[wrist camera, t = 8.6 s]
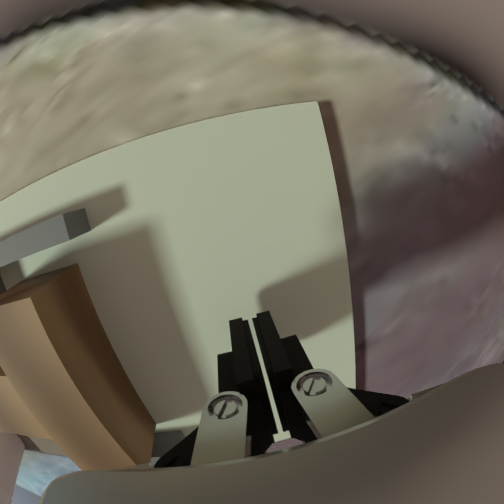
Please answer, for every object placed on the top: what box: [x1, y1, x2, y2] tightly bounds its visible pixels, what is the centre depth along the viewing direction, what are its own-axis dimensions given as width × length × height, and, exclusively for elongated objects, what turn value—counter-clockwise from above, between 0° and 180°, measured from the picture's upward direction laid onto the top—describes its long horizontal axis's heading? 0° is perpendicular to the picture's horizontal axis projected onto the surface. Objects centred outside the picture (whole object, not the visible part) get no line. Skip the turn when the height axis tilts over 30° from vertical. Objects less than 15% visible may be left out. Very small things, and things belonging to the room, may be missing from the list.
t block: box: [0, 263, 156, 471], centre depth 10 cm, size 11×10×4 cm
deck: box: [0, 101, 356, 465], centre depth 12 cm, size 25×18×3 cm
